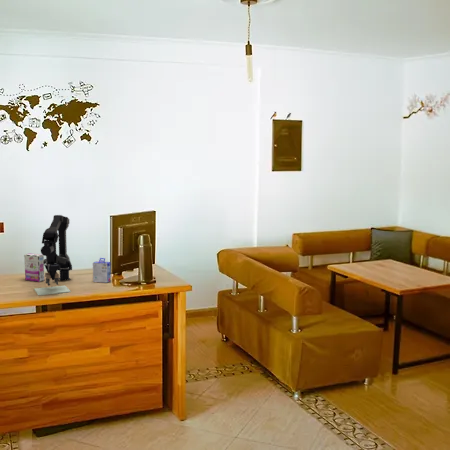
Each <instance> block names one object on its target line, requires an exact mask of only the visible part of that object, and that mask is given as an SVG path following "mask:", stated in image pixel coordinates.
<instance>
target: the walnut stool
mask: <svg viewBox="0 0 450 450" xmlns="http://www.w3.org/2000/svg"><path fill="white" fill-rule="evenodd" d="M44 278H45V283H46V284H47V286H50V285H51V282H50V280H52V278H51V276H50V274H49V273H48V272H44ZM58 278H60V273H58V272H57V271H56V274H55V279H54V280H53V281H54V284H56V286H59V279H58Z"/></svg>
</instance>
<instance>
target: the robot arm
mask: <svg viewBox="0 0 450 450" xmlns="http://www.w3.org/2000/svg"><path fill="white" fill-rule="evenodd" d="M69 225H70V218H69V217H68V216H64V215H62V214H55V215H53V219H52V221H51V224H50V226H49V227H48V228H46V229H45V230H44V232H43V234H42V240H41V244H42V245H43V246H42V247H41V248H40V253H41V255H44V257H45V258H44V260H43V264H44V269H45V270H46V273H49V274H50V276H51V280H52V281H54V279H55V274H56V272H57V271H59V278H58V281H60V282H62V281H64V282H65V281H71V278H70V271H72V270H73V265H72V262H71V259H70V256H69V254H68V253H67V250H68V249H67V229H68V228H69ZM57 243H58V254H57Z"/></svg>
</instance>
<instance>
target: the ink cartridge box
mask: <svg viewBox="0 0 450 450" xmlns="http://www.w3.org/2000/svg"><path fill="white" fill-rule="evenodd" d="M111 264H112V263H111V261H106V257H99V259H98V261H94V262H93V263H92V282H94V283H109V282H111V281H112V275H111V267H112V266H111Z"/></svg>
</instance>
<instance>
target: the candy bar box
mask: <svg viewBox="0 0 450 450" xmlns="http://www.w3.org/2000/svg"><path fill="white" fill-rule="evenodd" d="M23 257H24V275H25V276H24V279H25V281H30V282H39V283H40V282H41V283H42V282H44V281H45V266H44V265H45V264H43V260H44V259H45V256H44V255H42V253H41V254H40V253H39V254H38V253H25V254H24V255H23Z"/></svg>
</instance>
